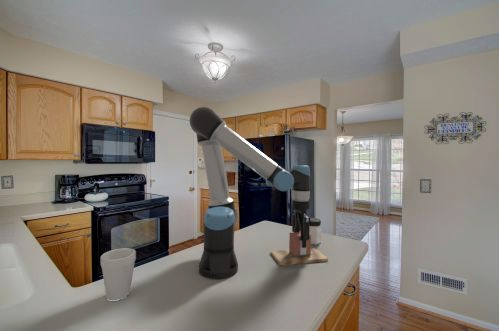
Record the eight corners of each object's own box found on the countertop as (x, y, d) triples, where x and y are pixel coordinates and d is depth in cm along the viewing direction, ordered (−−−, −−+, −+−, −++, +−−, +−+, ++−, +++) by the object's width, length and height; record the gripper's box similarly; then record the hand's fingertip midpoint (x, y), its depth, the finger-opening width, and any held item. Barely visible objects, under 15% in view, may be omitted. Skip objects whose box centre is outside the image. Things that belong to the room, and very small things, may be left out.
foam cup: (127, 283, 77) (128, 246, 77) (140, 294, 72) (141, 253, 71) (95, 296, 70) (95, 254, 70) (106, 309, 64) (107, 263, 64)
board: (279, 265, 93) (279, 262, 93) (270, 253, 105) (270, 251, 105) (327, 261, 98) (328, 258, 98) (314, 250, 110) (314, 247, 110)
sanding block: (293, 257, 98) (294, 236, 98) (289, 252, 103) (289, 232, 103) (310, 255, 100) (311, 235, 100) (305, 251, 105) (305, 231, 105)
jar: (314, 246, 116) (315, 222, 116) (301, 241, 122) (301, 219, 121) (323, 241, 122) (324, 219, 122) (310, 238, 128) (310, 216, 128)
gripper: (319, 203, 93) (318, 259, 94) (299, 196, 111) (299, 243, 111) (302, 203, 92) (301, 261, 92) (285, 196, 109) (284, 245, 110)
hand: (299, 251), depth 102 cm, fingers closed on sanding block, 5 cm apart
